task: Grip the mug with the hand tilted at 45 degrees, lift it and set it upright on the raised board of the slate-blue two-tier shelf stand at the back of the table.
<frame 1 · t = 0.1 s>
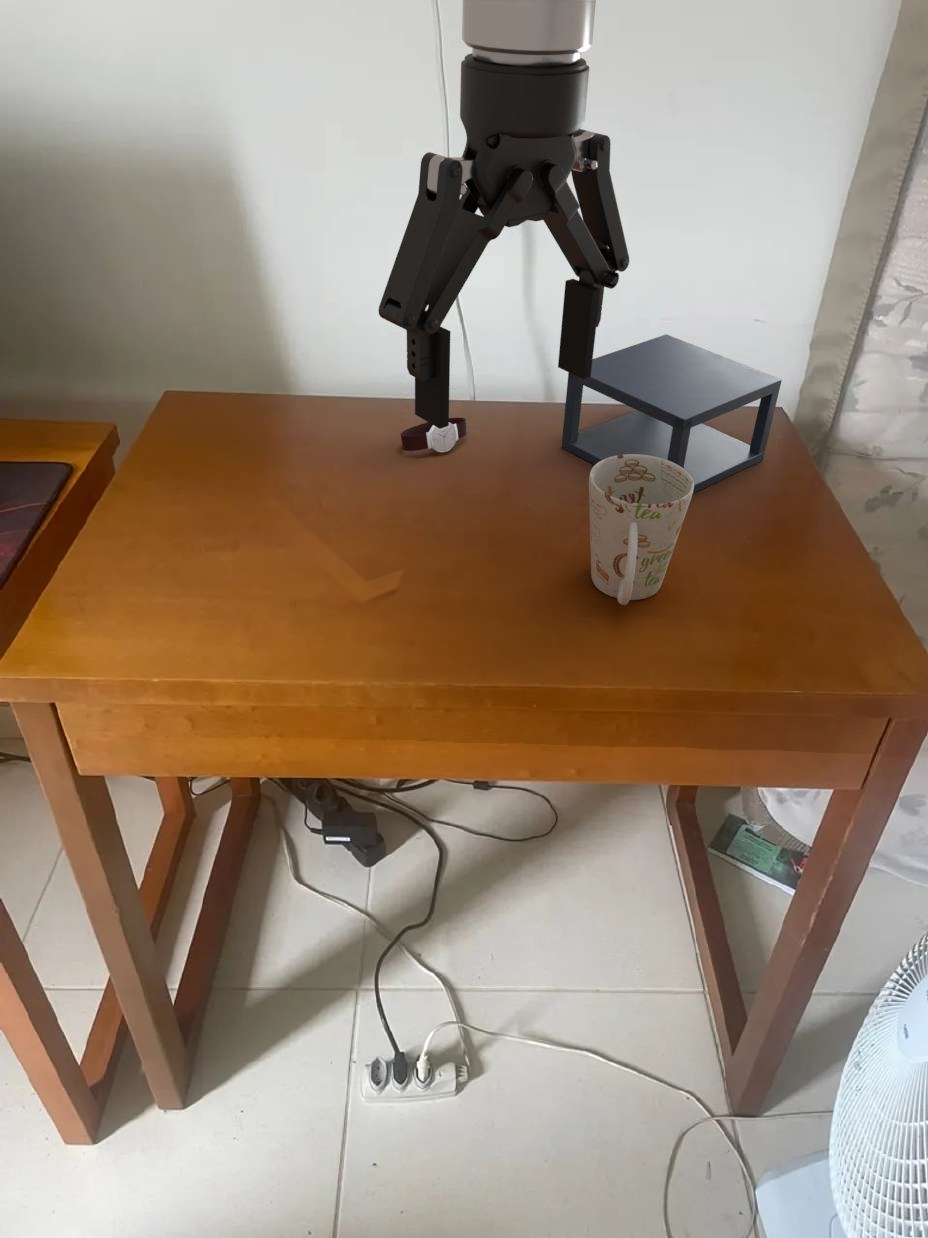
hand: (506, 395, 70), 19 cm above the table, tool pointing down, fingers open, 13 cm apart
shelf: (661, 453, 104), on the table
watch: (433, 447, 104), on the table
mug: (625, 596, 83), on the table
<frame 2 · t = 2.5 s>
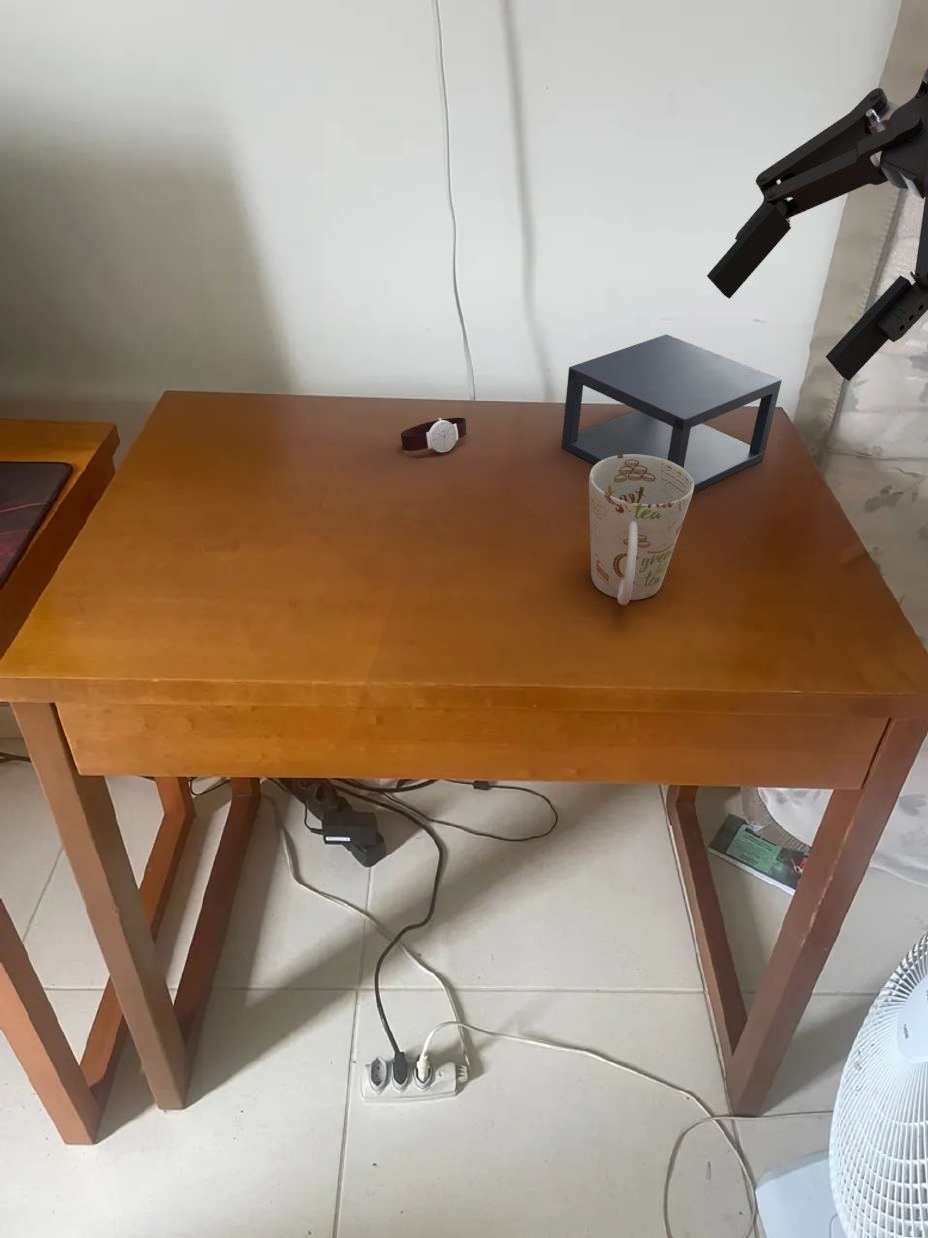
hand: (773, 326, 70), 23 cm above the table, tool tilted 40°, fingers open, 13 cm apart
nothing on the table moved.
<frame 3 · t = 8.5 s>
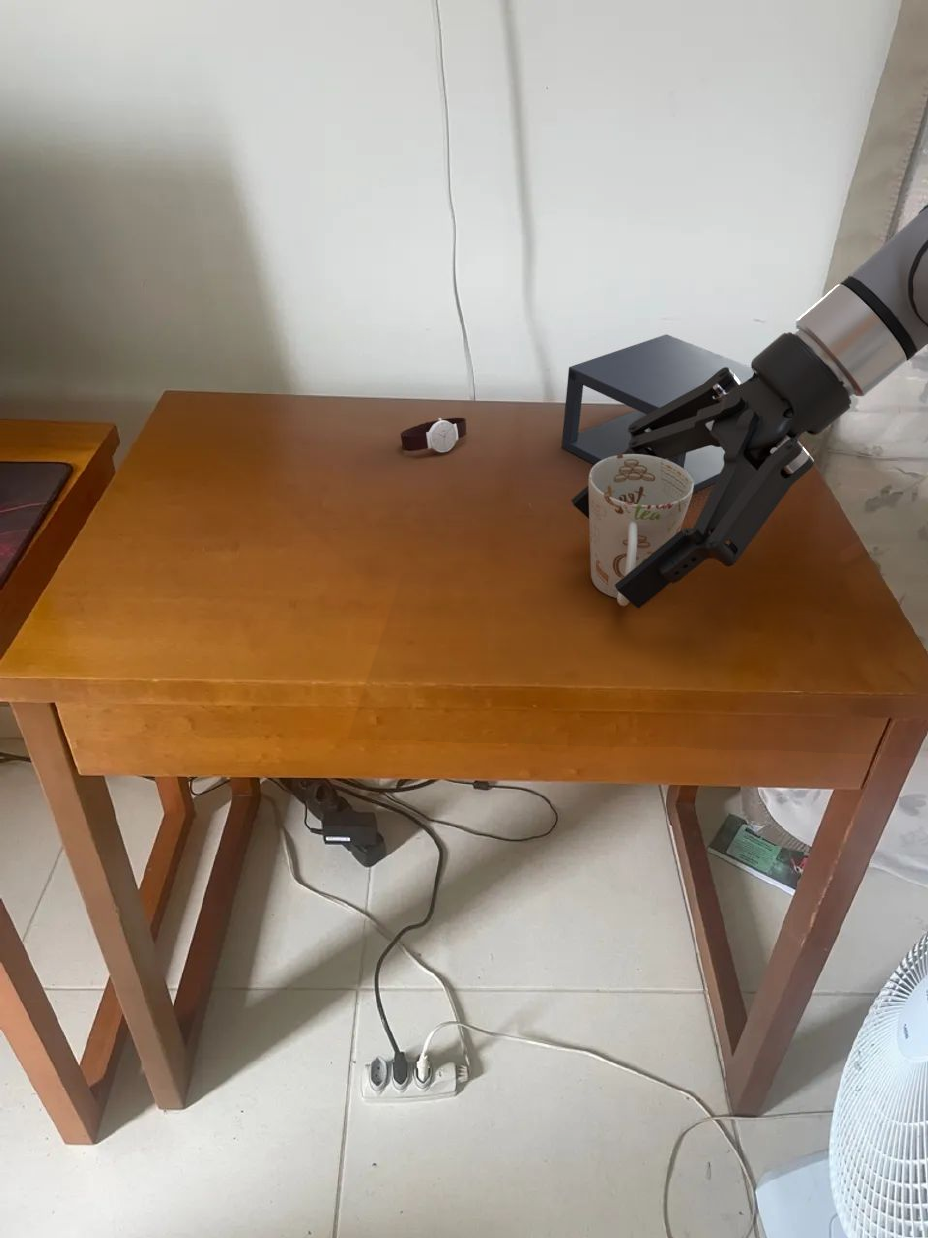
hand: (602, 551, 80), 4 cm above the table, tool tilted 45°, fingers closed on mug, 12 cm apart
mug: (625, 596, 83), on the table, touching gripper
everything else where it was.
when the fingers open (13 cm above the table, at t = 16.5 s): mug stays where it is, resting on shelf.
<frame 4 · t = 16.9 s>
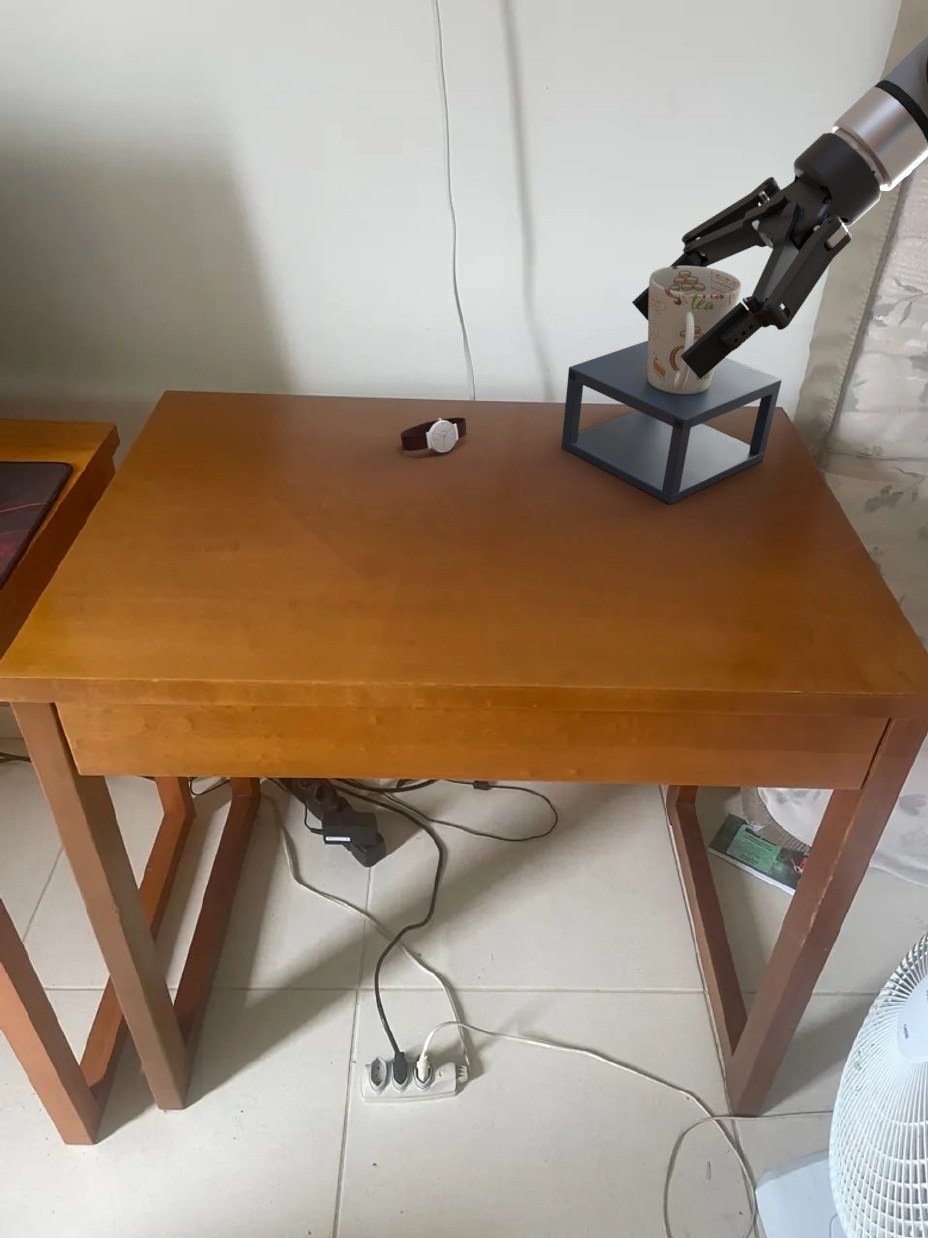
hand: (663, 339, 91), 14 cm above the table, tool tilted 45°, fingers open, 13 cm apart
mug: (678, 392, 95), point 9 cm above the table, touching shelf
everything else where it was.
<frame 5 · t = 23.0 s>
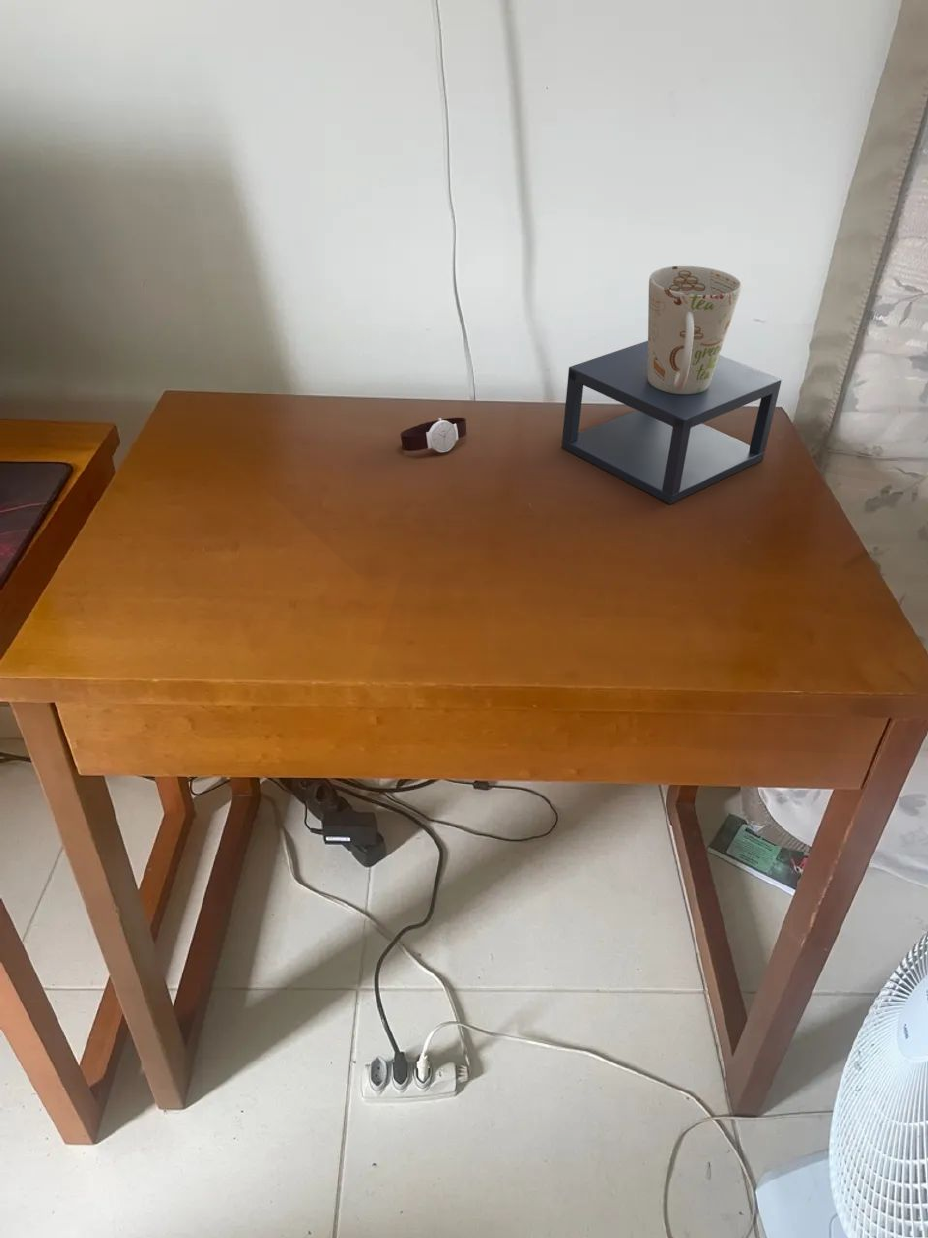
nothing on the table moved.
at the end: mug inside the target area on the shelf (4.3 cm from its centre), point 8.8 cm above the shelf's base; mug tilted 0°; the gripper is holding nothing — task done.
